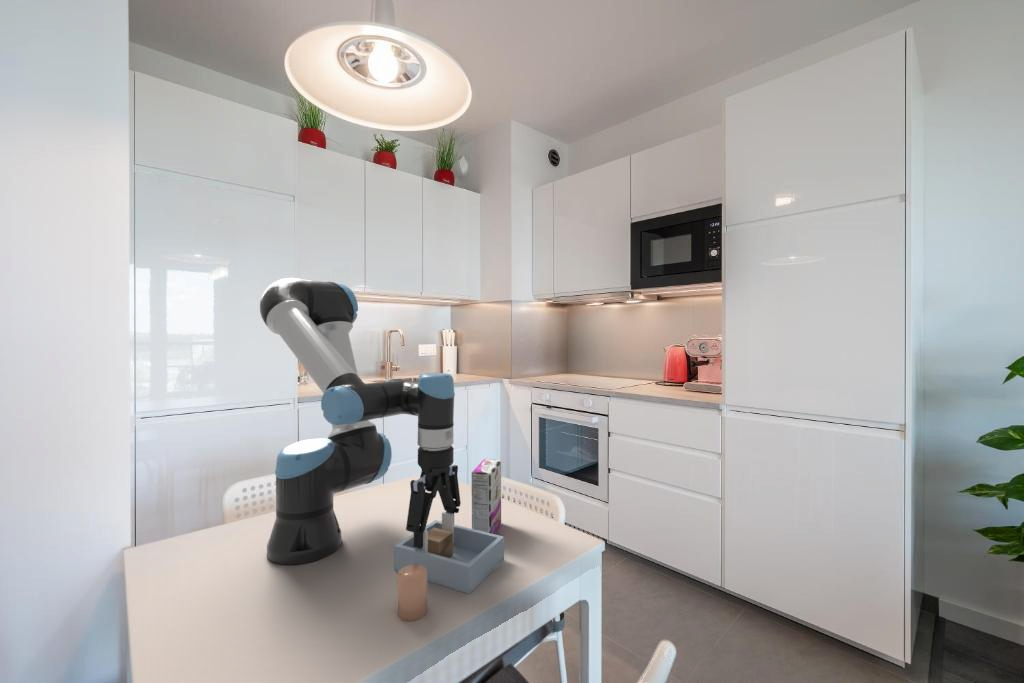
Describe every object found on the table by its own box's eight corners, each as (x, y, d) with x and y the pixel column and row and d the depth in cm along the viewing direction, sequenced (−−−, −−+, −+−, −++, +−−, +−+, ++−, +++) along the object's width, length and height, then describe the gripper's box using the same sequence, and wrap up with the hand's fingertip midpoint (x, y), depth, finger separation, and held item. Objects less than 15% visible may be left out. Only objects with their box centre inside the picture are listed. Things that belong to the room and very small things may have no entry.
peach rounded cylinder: (391, 616, 75) (391, 576, 75) (409, 600, 80) (409, 562, 80) (415, 624, 73) (415, 583, 73) (432, 607, 78) (432, 568, 78)
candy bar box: (482, 521, 114) (483, 458, 114) (501, 523, 113) (502, 459, 113) (470, 541, 103) (470, 471, 103) (490, 543, 102) (491, 472, 102)
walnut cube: (438, 566, 90) (439, 542, 90) (419, 560, 93) (419, 536, 93) (452, 555, 95) (452, 532, 95) (433, 550, 97) (434, 527, 97)
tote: (394, 569, 90) (394, 545, 90) (435, 541, 102) (435, 520, 102) (469, 593, 82) (469, 567, 82) (503, 559, 94) (504, 536, 94)
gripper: (417, 461, 82) (416, 581, 83) (477, 437, 102) (476, 534, 102) (386, 456, 86) (386, 571, 86) (449, 434, 105) (449, 528, 105)
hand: (434, 551), depth 94 cm, fingers open, 9 cm apart
